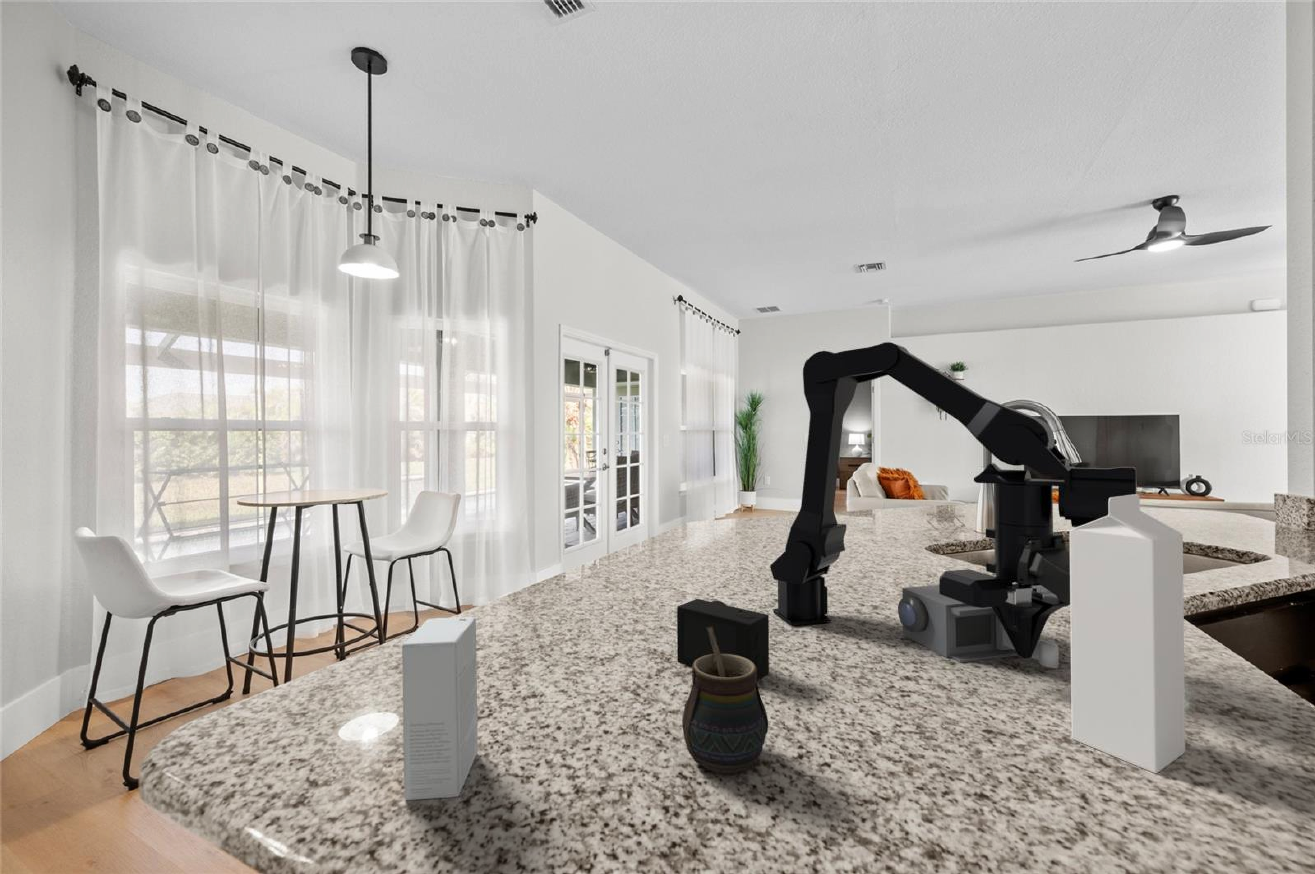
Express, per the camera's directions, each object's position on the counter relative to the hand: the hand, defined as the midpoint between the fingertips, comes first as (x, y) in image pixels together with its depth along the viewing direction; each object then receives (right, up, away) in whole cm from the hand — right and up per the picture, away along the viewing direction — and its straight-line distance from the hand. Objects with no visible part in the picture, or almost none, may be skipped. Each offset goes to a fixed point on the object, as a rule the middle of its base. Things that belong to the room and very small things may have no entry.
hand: (1024, 657), depth 63 cm
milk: (-2, -2, -15) cm, 16 cm away
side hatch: (+4, -1, +2) cm, 4 cm away
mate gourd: (-37, -2, -17) cm, 41 cm away
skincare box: (-60, -2, -19) cm, 63 cm away
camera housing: (-2, -2, +8) cm, 9 cm away
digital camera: (-35, -2, +2) cm, 35 cm away
